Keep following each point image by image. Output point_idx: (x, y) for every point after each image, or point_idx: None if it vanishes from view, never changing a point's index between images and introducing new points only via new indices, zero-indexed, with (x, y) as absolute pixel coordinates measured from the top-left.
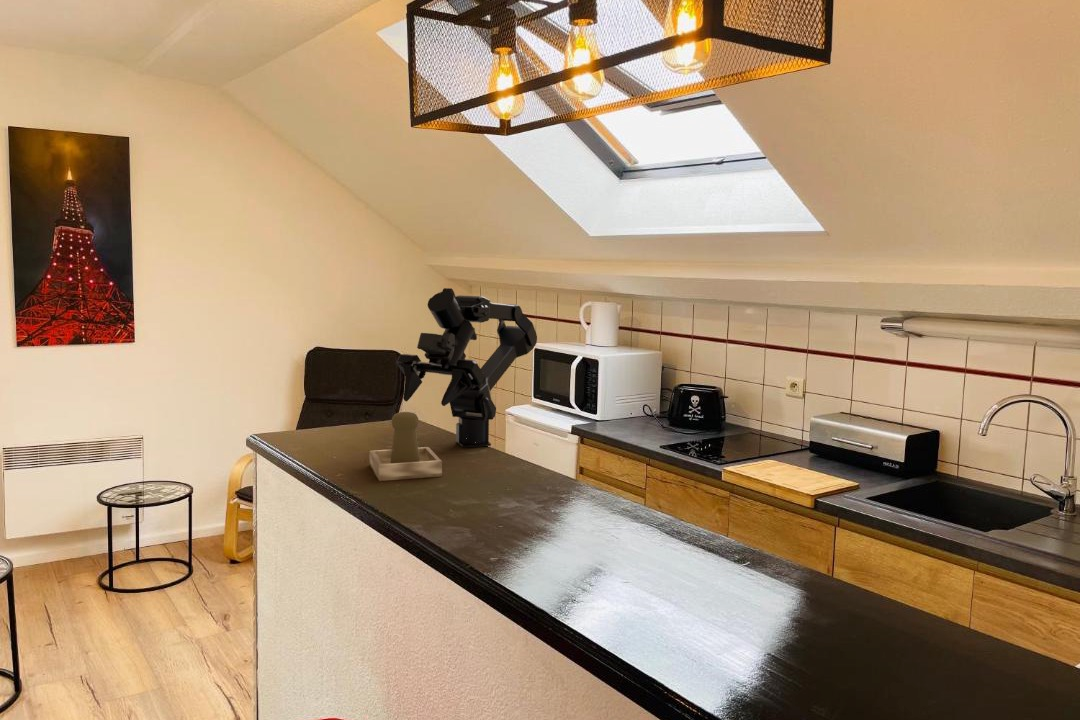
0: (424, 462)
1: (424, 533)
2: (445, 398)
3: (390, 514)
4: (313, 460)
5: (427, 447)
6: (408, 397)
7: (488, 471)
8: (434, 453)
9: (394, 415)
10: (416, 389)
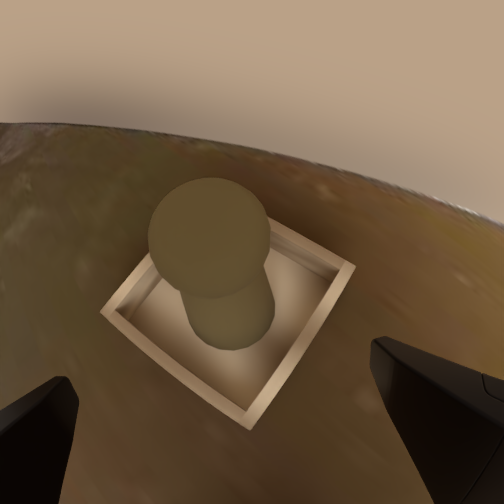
0: (131, 273)
1: (38, 127)
2: (33, 390)
3: (92, 129)
4: (459, 231)
5: (247, 423)
6: (381, 381)
7: None
8: (169, 372)
9: (234, 182)
10: (431, 495)
